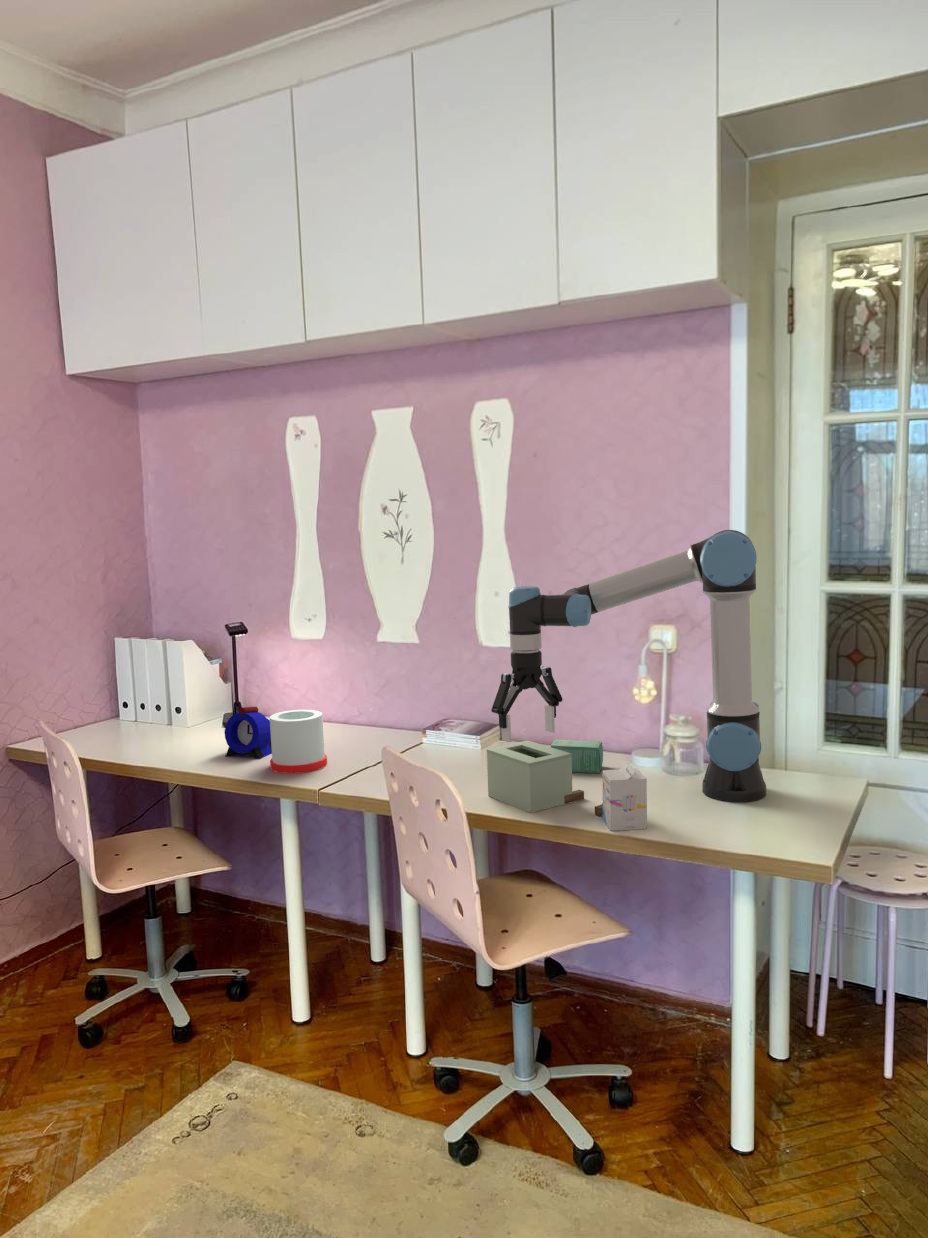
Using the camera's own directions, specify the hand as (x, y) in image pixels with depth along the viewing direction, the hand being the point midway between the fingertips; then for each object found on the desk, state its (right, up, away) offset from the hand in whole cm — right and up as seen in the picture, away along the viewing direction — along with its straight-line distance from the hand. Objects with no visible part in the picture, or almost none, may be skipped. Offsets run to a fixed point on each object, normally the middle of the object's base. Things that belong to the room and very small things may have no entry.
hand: (528, 736), depth 233 cm
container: (-63, -13, +40) cm, 76 cm away
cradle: (+14, -16, -6) cm, 22 cm away
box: (+15, -12, +26) cm, 33 cm away
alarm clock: (-80, -12, +55) cm, 98 cm away
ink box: (+20, -18, -18) cm, 33 cm away
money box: (0, -16, +2) cm, 16 cm away
